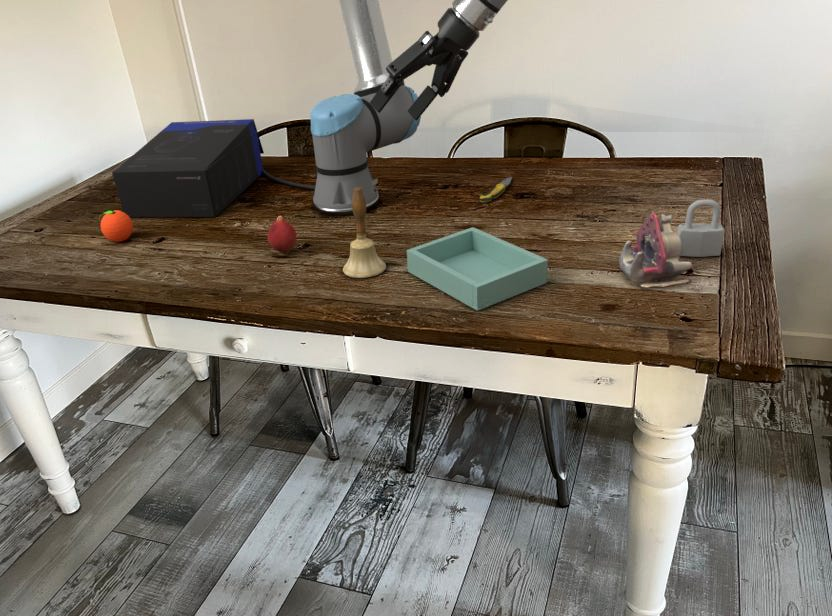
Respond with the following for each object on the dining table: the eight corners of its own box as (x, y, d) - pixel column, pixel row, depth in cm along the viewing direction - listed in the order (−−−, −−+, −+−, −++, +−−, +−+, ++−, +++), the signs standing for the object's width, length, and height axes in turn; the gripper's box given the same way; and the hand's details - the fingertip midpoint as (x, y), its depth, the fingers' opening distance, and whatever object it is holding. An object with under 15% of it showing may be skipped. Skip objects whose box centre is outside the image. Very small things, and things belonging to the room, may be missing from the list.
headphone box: (267, 169, 203) (259, 115, 195) (215, 217, 174) (202, 157, 167) (186, 170, 209) (175, 118, 202) (123, 217, 181) (107, 159, 174)
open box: (407, 271, 139) (406, 250, 137) (473, 248, 145) (472, 226, 142) (477, 310, 123) (477, 287, 121) (547, 282, 129) (548, 259, 127)
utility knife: (504, 173, 176) (516, 174, 175) (504, 178, 177) (516, 179, 175) (479, 197, 165) (491, 198, 163) (479, 202, 165) (492, 203, 164)
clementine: (95, 245, 167) (86, 215, 163) (113, 233, 172) (105, 204, 169) (124, 247, 164) (116, 217, 160) (142, 235, 170) (134, 205, 166)
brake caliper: (597, 252, 132) (644, 195, 127) (642, 280, 135) (689, 226, 130) (622, 280, 122) (673, 219, 117) (670, 309, 126) (721, 251, 121)
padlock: (677, 257, 132) (685, 204, 127) (674, 248, 135) (681, 195, 130) (721, 257, 131) (730, 203, 125) (716, 248, 134) (725, 194, 129)
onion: (277, 261, 149) (270, 224, 145) (266, 252, 153) (260, 216, 149) (303, 253, 151) (297, 216, 147) (292, 245, 155) (286, 208, 151)
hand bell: (364, 256, 147) (356, 177, 138) (395, 266, 141) (388, 185, 133) (333, 271, 142) (323, 191, 134) (364, 282, 137) (356, 199, 128)
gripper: (445, 18, 124) (369, 118, 135) (507, 46, 144) (436, 131, 155) (418, -11, 126) (345, 89, 137) (483, 20, 146) (415, 106, 157)
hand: (394, 112), depth 146 cm, fingers open, 13 cm apart
